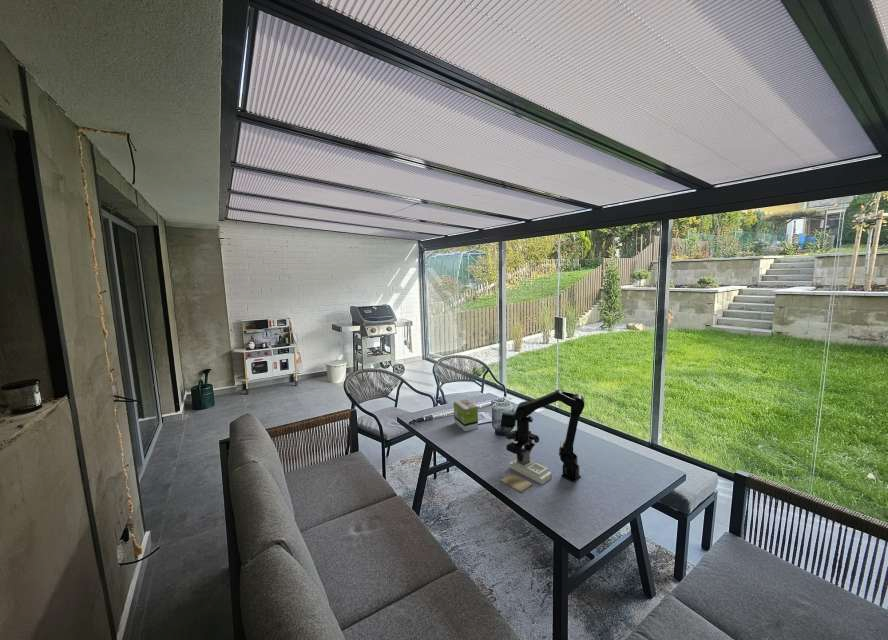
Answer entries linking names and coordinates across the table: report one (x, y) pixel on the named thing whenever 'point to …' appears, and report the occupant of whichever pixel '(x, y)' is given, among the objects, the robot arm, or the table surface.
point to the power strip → (532, 470)
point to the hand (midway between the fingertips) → (523, 459)
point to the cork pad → (516, 482)
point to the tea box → (466, 415)
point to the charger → (525, 457)
